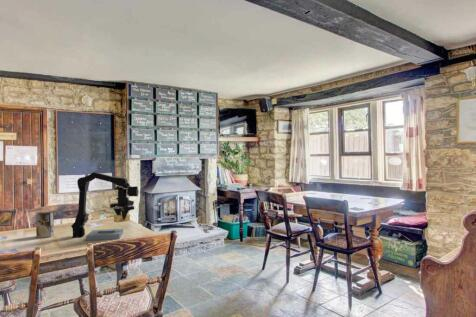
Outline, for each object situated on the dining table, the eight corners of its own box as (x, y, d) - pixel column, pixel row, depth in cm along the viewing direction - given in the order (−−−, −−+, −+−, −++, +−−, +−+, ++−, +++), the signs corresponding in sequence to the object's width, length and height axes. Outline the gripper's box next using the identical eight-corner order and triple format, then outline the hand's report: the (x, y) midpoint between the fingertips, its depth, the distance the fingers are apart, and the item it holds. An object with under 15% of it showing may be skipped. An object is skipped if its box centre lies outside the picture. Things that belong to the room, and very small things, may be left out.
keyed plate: (86, 240, 204) (86, 235, 204) (92, 234, 220) (92, 230, 219) (119, 238, 208) (119, 234, 208) (123, 232, 223) (123, 228, 223)
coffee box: (54, 234, 219) (54, 211, 218) (51, 237, 212) (50, 213, 212) (39, 235, 217) (39, 212, 217) (35, 237, 211) (35, 213, 210)
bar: (117, 222, 212) (117, 216, 212) (113, 221, 215) (113, 215, 215) (129, 220, 219) (129, 214, 219) (126, 219, 222) (126, 213, 222)
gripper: (140, 196, 218) (140, 219, 218) (123, 194, 229) (123, 215, 229) (127, 198, 209) (126, 221, 209) (109, 195, 219) (109, 218, 219)
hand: (121, 219), depth 217 cm, fingers closed on bar, 5 cm apart
